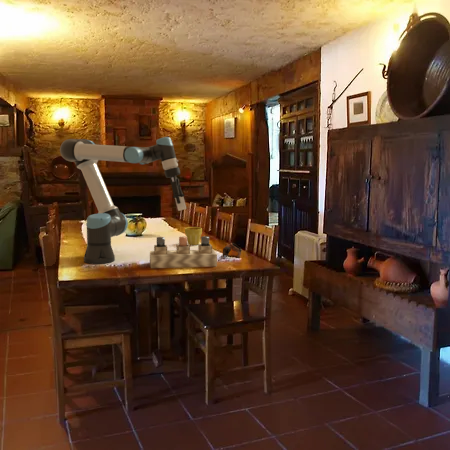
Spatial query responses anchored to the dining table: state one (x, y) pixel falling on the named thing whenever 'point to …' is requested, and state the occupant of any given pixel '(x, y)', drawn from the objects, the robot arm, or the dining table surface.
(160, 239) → the knob near
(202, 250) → the beige long block
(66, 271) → the dining table surface
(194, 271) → the dining table surface
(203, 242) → the knob far
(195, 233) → the plant pot
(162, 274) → the dining table surface
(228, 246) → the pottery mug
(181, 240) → the knob middle
